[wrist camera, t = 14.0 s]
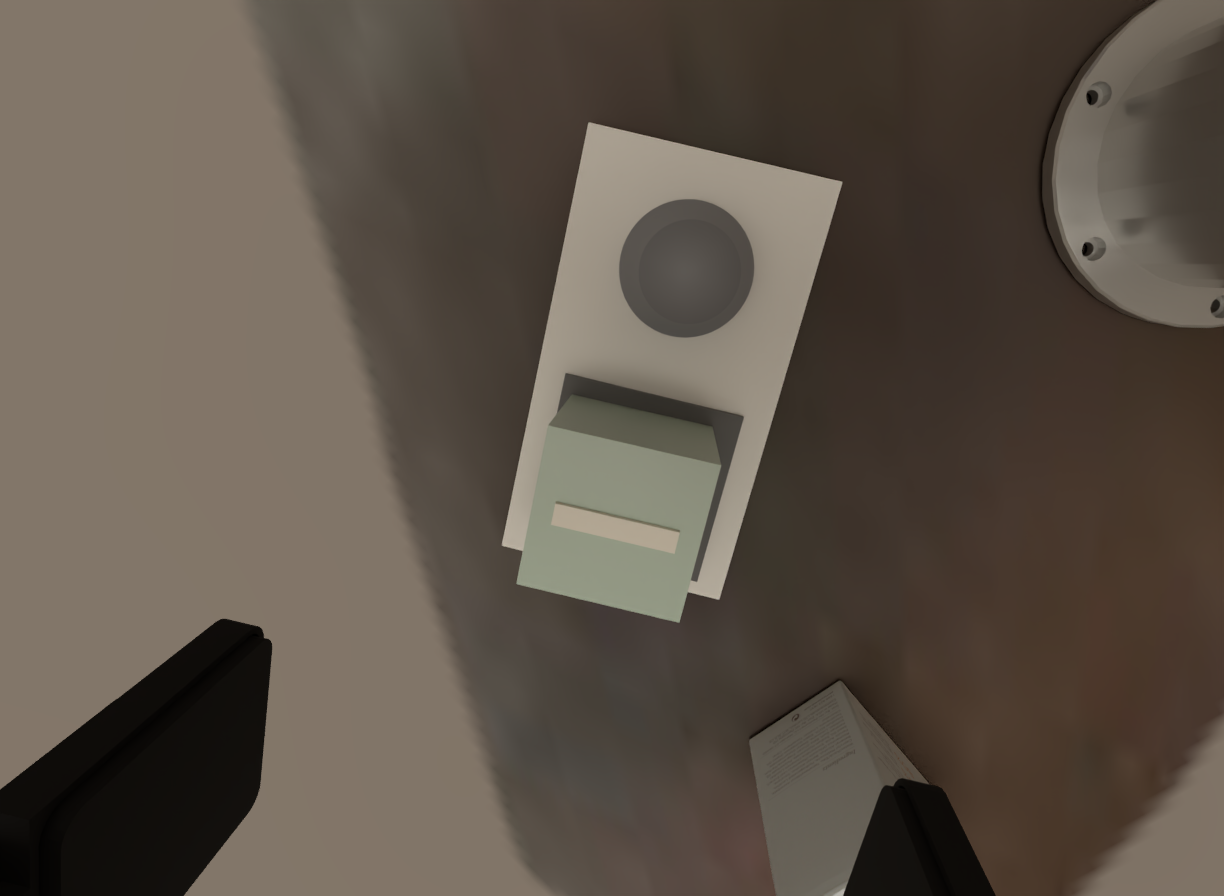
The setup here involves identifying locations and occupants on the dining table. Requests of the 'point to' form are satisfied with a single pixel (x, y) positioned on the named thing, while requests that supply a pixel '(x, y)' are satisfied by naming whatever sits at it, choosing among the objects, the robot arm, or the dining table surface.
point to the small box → (822, 789)
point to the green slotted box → (620, 507)
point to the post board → (666, 359)
